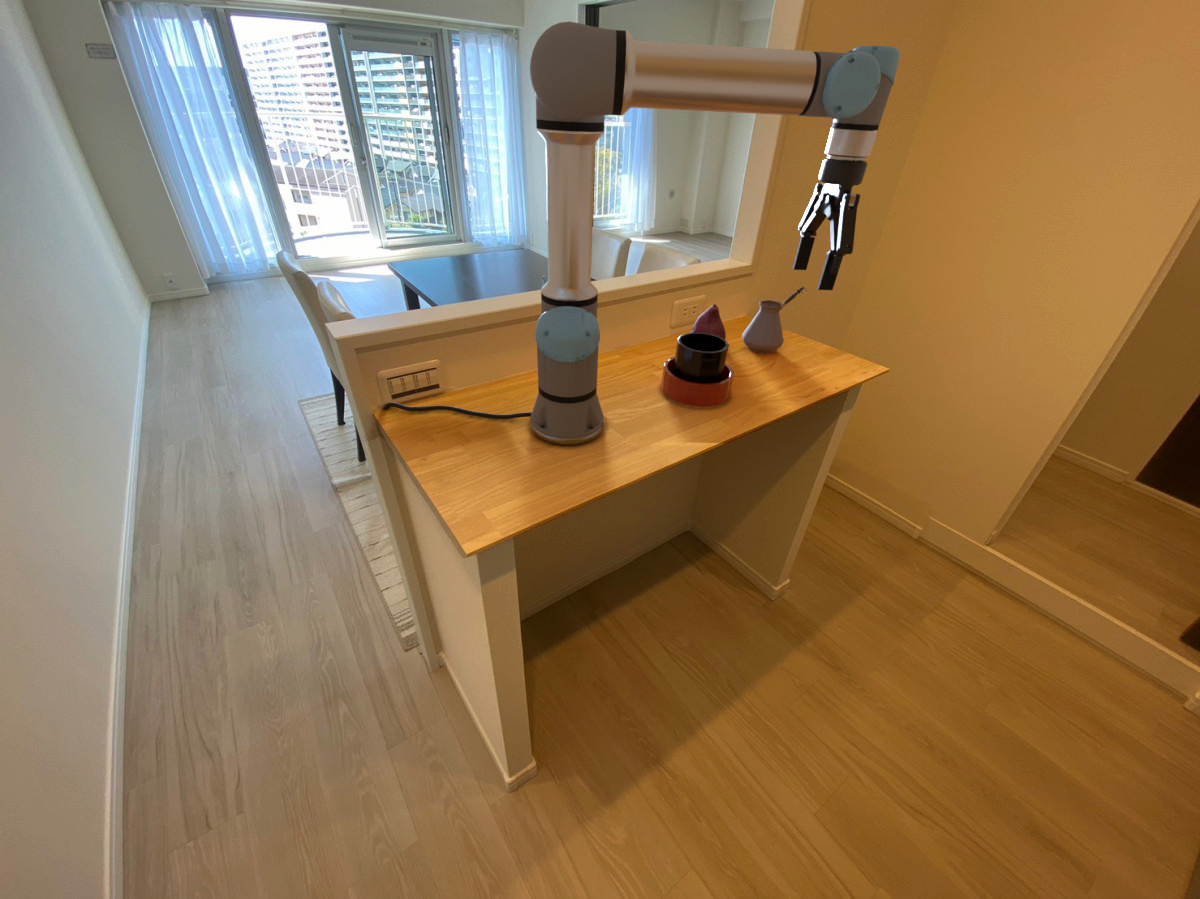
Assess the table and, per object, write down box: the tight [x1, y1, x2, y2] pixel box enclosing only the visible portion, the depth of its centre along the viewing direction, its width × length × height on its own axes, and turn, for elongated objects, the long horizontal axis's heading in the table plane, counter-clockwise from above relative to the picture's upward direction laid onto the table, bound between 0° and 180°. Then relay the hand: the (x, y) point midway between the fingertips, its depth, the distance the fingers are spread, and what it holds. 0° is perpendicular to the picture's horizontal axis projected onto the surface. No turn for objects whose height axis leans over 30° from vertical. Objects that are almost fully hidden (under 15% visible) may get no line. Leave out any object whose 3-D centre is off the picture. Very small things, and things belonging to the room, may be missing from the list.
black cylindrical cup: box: [673, 332, 730, 384], centre depth 114 cm, size 11×14×12 cm
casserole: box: [660, 355, 735, 408], centre depth 116 cm, size 16×16×6 cm
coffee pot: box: [741, 286, 808, 354], centre depth 139 cm, size 21×12×15 cm, turn 130°
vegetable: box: [690, 303, 726, 340], centre depth 134 cm, size 10×10×15 cm
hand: (811, 279), depth 100 cm, fingers open, 13 cm apart
